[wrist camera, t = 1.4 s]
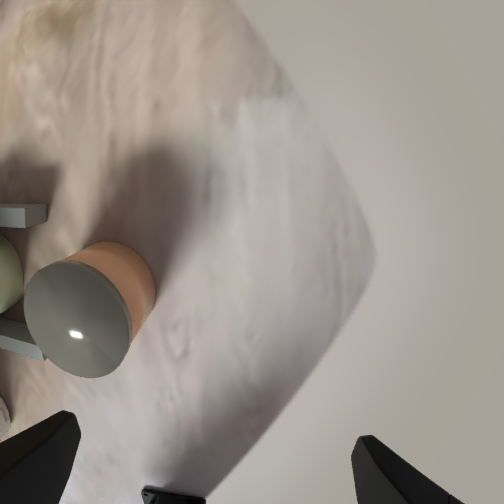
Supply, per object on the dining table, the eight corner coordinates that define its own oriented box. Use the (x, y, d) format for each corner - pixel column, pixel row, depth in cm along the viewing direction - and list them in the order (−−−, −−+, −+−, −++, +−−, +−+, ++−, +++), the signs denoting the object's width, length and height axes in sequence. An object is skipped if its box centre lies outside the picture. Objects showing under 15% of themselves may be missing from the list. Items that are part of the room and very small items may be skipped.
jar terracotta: (158, 336, 20) (132, 387, 14) (77, 323, 20) (35, 364, 14) (157, 243, 19) (123, 270, 13) (69, 236, 19) (16, 258, 13)
